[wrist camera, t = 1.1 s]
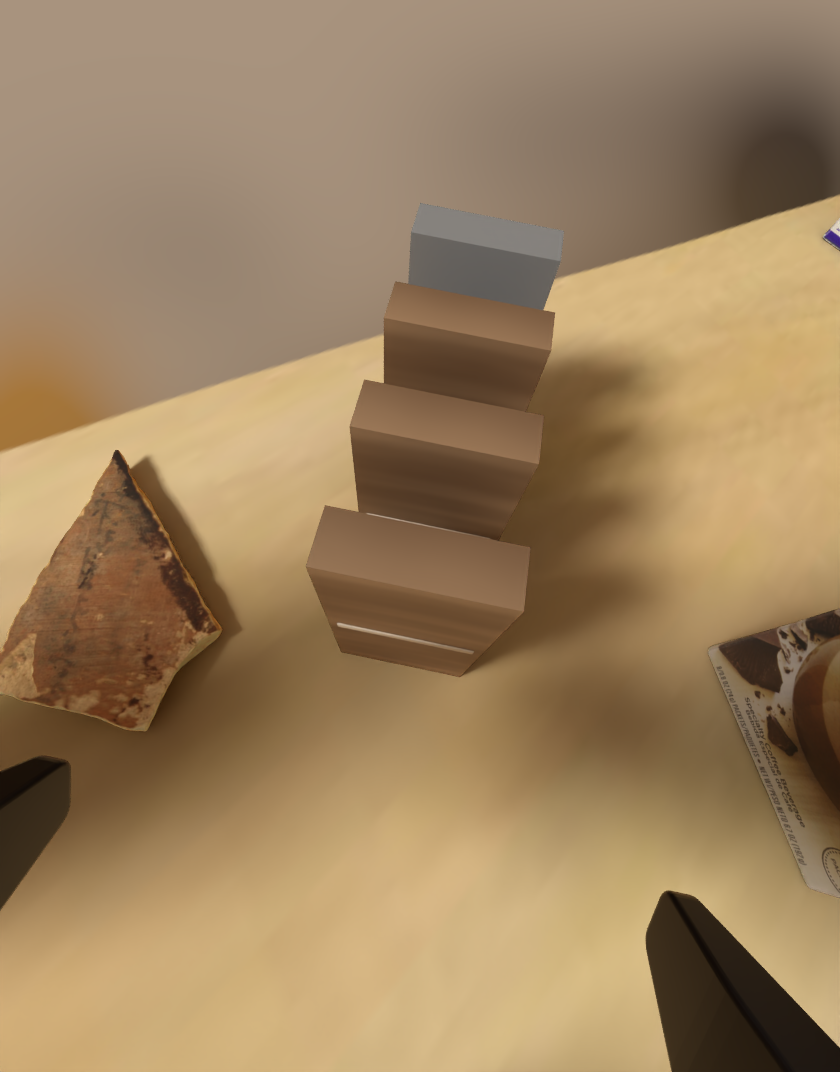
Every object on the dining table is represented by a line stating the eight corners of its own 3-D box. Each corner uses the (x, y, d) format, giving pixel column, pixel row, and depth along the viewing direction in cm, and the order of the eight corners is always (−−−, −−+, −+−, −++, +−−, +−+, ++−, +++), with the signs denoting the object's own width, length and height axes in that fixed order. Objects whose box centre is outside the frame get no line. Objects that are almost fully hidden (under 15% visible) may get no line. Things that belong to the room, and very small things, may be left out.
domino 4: (459, 678, 20) (523, 613, 11) (340, 653, 20) (304, 568, 11) (465, 637, 21) (530, 545, 11) (351, 613, 21) (325, 503, 12)
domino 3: (473, 587, 22) (538, 465, 12) (363, 564, 22) (349, 427, 12) (478, 552, 22) (544, 413, 13) (372, 531, 22) (364, 377, 13)
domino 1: (495, 442, 25) (560, 262, 16) (400, 423, 25) (410, 233, 16) (499, 416, 26) (563, 230, 16) (407, 398, 26) (420, 202, 17)
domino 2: (485, 509, 23) (551, 351, 14) (383, 489, 23) (383, 319, 14) (490, 480, 24) (555, 311, 15) (391, 460, 24) (395, 280, 15)
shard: (131, 465, 23) (112, 444, 22) (282, 502, 23) (274, 483, 22) (-2, 693, 19) (-38, 687, 17) (184, 742, 19) (165, 741, 17)
